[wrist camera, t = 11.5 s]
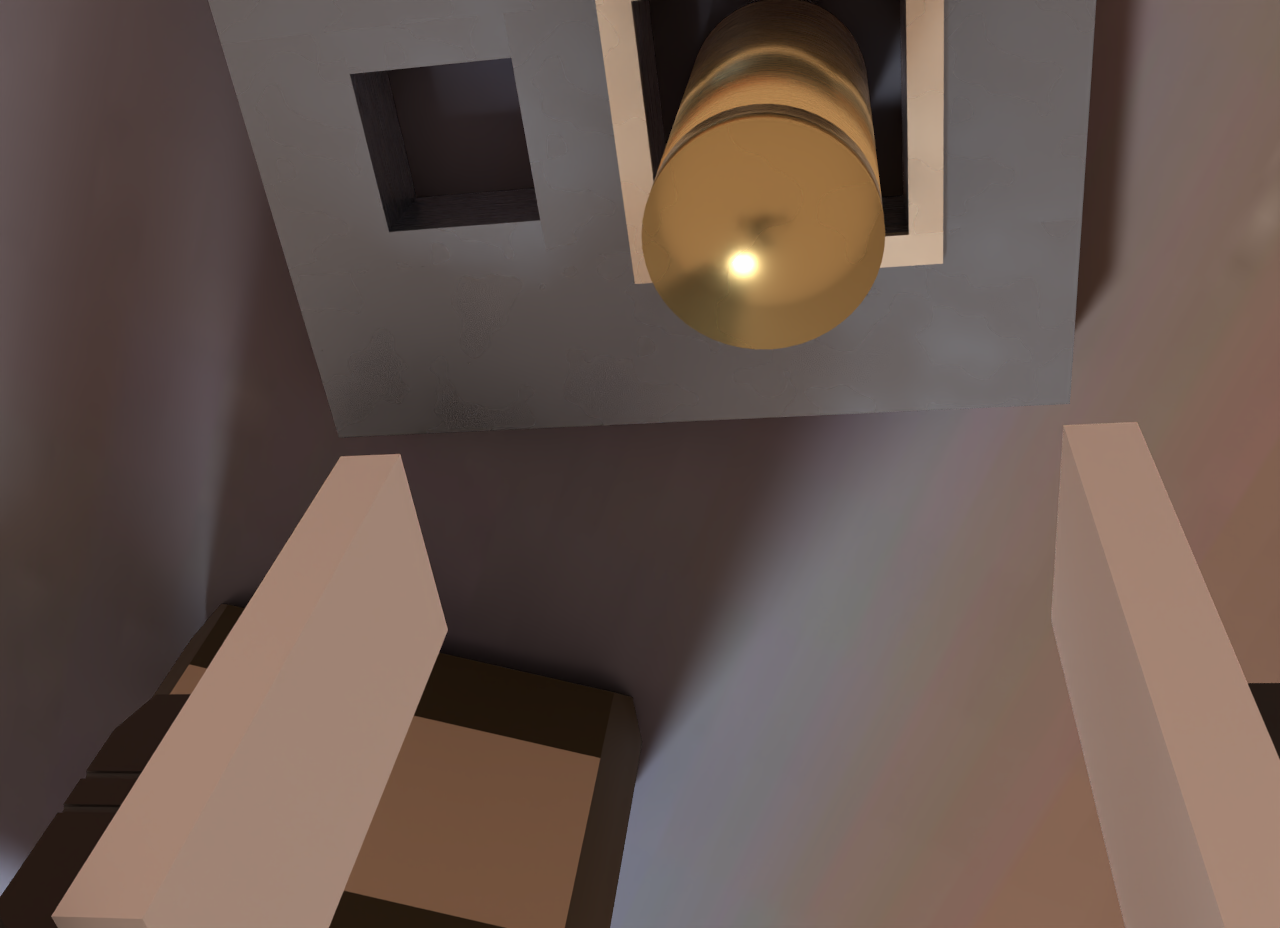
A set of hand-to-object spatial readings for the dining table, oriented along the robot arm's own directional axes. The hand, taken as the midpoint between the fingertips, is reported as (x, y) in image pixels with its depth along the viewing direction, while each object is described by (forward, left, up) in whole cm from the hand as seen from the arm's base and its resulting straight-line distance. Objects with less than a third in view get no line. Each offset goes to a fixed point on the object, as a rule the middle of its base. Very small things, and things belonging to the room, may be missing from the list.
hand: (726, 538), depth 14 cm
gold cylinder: (0, 0, -19) cm, 19 cm away
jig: (-3, 0, -19) cm, 19 cm away
